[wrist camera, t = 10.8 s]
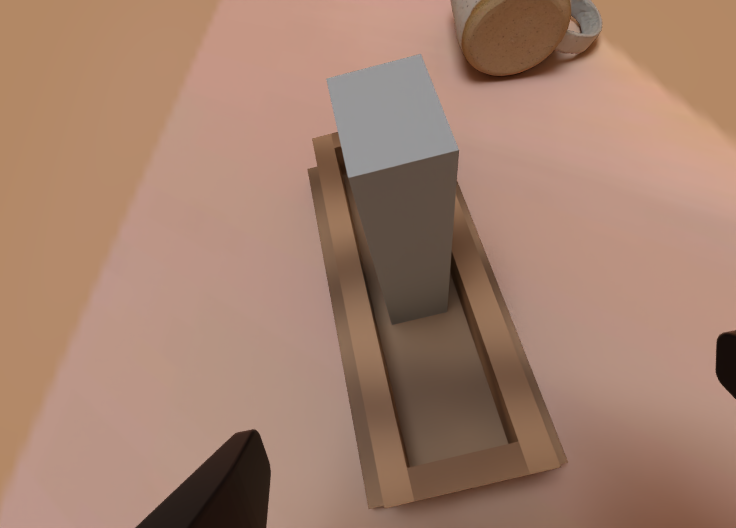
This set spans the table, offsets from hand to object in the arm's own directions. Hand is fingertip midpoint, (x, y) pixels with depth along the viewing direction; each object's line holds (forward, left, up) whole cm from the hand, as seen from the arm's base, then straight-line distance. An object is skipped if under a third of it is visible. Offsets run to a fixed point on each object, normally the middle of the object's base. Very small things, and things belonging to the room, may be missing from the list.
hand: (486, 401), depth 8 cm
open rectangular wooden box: (+8, -3, -14) cm, 16 cm away
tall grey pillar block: (+8, -3, -13) cm, 15 cm away
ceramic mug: (+20, -21, -14) cm, 32 cm away
